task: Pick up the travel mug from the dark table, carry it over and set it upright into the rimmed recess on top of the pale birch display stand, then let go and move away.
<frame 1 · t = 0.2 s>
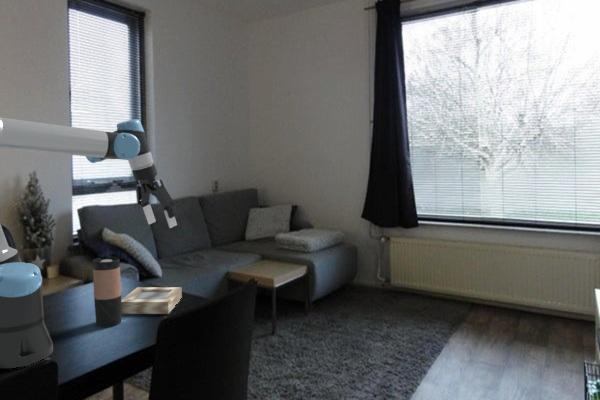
hand: (162, 224, 153), 27 cm above the table, tool tilted 15°, fingers open, 13 cm apart
travel mug: (109, 323, 136), on the table
display stand: (152, 305, 152), on the table
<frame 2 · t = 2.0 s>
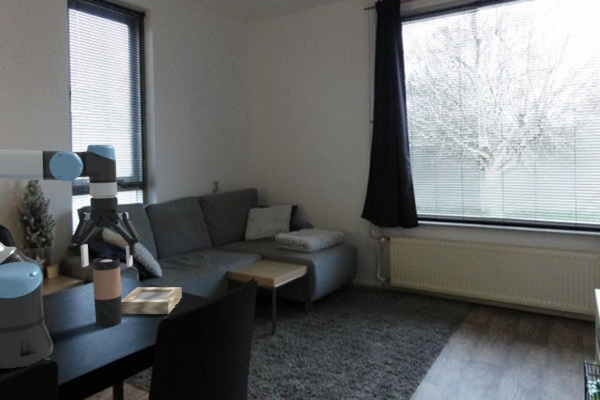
hand: (107, 266, 134), 18 cm above the table, tool pointing down, fingers open, 13 cm apart
nothing on the table moved.
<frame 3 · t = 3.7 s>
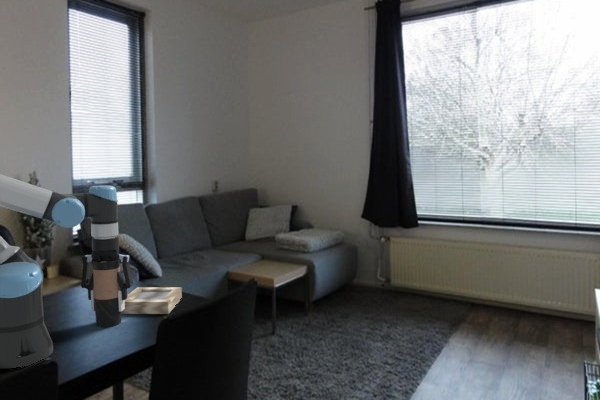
hand: (108, 309, 136), 4 cm above the table, tool pointing down, fingers closed on travel mug, 8 cm apart
travel mug: (109, 323, 136), on the table, touching gripper
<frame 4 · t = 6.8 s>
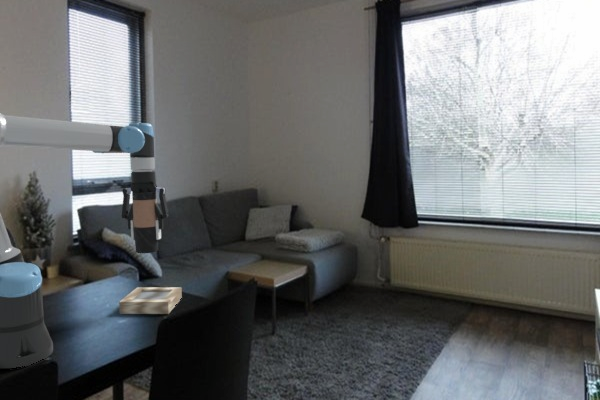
hand: (146, 238, 148), 24 cm above the table, tool pointing down, fingers closed on travel mug, 8 cm apart
travel mug: (147, 251, 148), point 19 cm above the table, touching gripper
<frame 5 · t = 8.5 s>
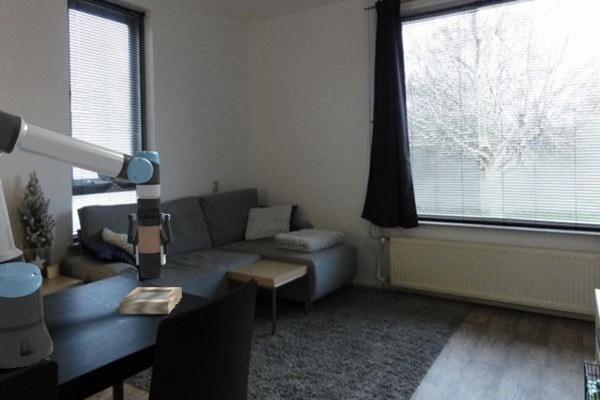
hand: (151, 263, 151), 15 cm above the table, tool pointing down, fingers closed on travel mug, 8 cm apart
travel mug: (151, 276, 151), point 10 cm above the table, touching gripper
when the fingers open (10 cm above the table, at t = 9.8 s): travel mug drops 3 cm, resting on display stand.
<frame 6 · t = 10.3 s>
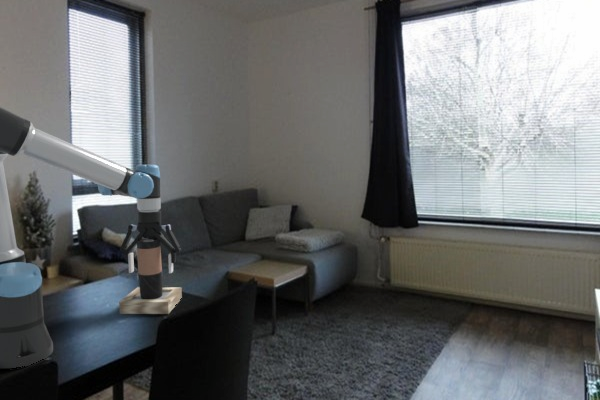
hand: (151, 272, 151), 12 cm above the table, tool pointing down, fingers open, 13 cm apart
travel mug: (151, 296, 152), point 3 cm above the table, touching display stand
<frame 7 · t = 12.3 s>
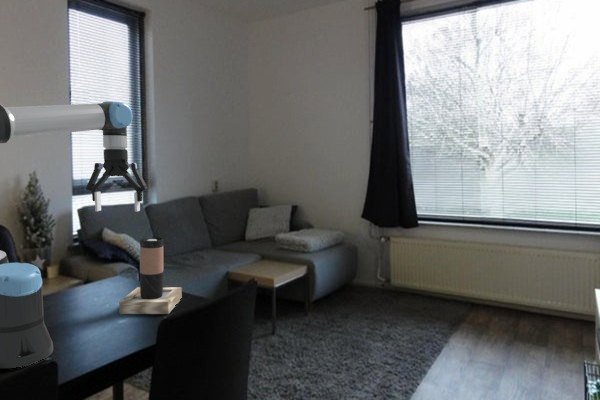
hand: (117, 211, 151), 32 cm above the table, tool pointing down, fingers open, 13 cm apart
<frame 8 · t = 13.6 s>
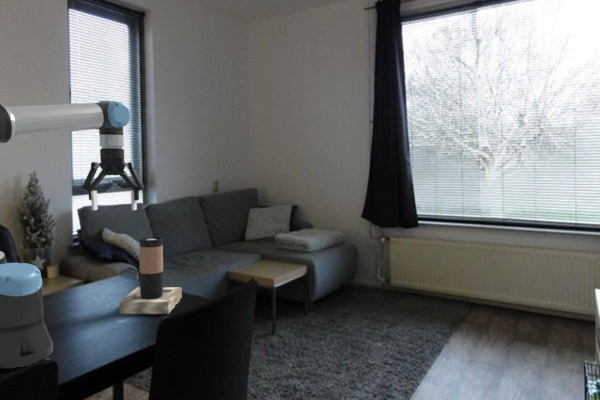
hand: (114, 210, 152), 33 cm above the table, tool pointing down, fingers open, 13 cm apart
nothing on the table moved.
at the end: travel mug 0.2 cm off-centre on the display stand, point 3.0 cm above the display stand's base; travel mug tilted 0°; the gripper is holding nothing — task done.
